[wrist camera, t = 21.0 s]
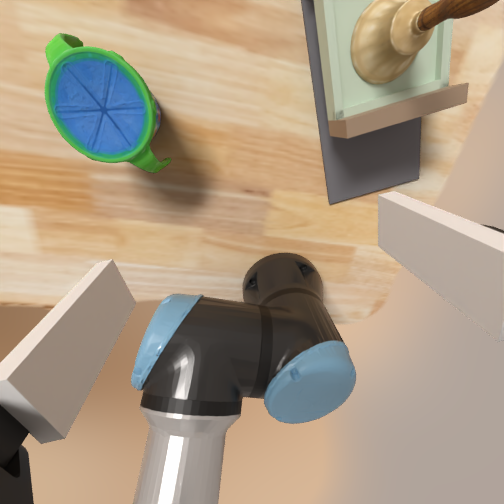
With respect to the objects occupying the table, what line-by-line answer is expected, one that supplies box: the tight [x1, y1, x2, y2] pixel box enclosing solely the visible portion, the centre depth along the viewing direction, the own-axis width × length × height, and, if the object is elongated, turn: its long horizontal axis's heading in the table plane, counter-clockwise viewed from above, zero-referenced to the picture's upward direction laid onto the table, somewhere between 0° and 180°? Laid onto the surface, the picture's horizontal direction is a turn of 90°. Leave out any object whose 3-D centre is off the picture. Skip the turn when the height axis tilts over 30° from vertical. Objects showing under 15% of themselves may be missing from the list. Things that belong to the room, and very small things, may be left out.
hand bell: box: [350, 0, 499, 84], centre depth 23 cm, size 8×8×16 cm
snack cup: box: [45, 33, 171, 173], centre depth 31 cm, size 16×10×10 cm
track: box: [301, 0, 421, 204], centre depth 34 cm, size 30×15×3 cm, turn 15°
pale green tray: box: [314, 0, 469, 139], centre depth 30 cm, size 16×14×8 cm
